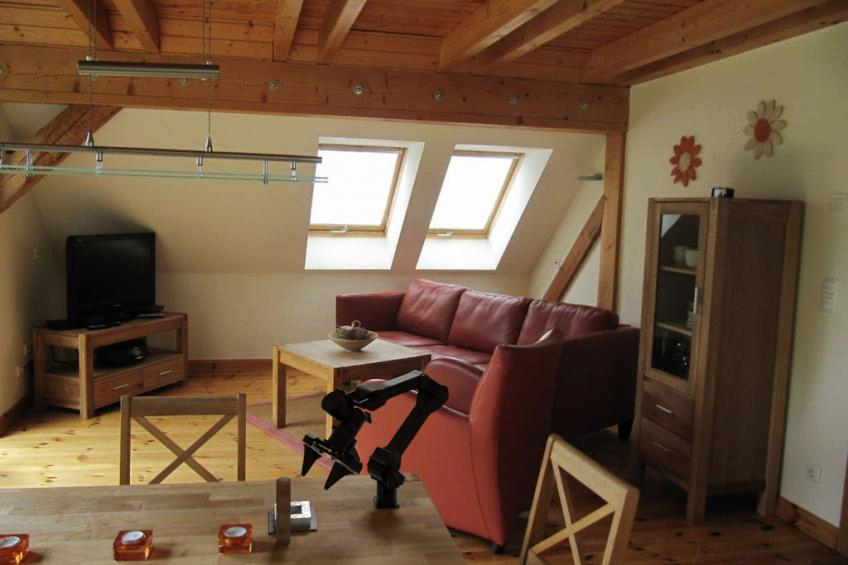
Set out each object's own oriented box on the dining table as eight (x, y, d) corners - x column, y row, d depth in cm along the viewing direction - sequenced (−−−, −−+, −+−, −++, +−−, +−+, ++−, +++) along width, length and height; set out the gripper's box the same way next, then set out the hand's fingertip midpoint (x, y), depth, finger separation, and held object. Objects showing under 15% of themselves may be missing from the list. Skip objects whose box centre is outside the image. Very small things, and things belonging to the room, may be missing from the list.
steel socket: (268, 511, 188) (268, 500, 188) (314, 508, 191) (314, 498, 190) (268, 534, 177) (268, 522, 176) (316, 530, 179) (317, 519, 179)
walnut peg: (275, 538, 175) (276, 477, 172) (290, 537, 176) (290, 476, 173) (276, 545, 171) (276, 483, 169) (290, 544, 172) (291, 482, 170)
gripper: (387, 454, 182) (354, 509, 176) (340, 431, 194) (308, 481, 189) (365, 435, 174) (330, 491, 169) (318, 412, 187) (284, 464, 181)
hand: (313, 482), depth 177 cm, fingers open, 9 cm apart
